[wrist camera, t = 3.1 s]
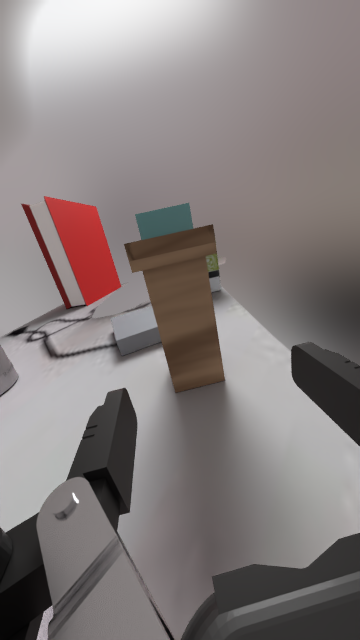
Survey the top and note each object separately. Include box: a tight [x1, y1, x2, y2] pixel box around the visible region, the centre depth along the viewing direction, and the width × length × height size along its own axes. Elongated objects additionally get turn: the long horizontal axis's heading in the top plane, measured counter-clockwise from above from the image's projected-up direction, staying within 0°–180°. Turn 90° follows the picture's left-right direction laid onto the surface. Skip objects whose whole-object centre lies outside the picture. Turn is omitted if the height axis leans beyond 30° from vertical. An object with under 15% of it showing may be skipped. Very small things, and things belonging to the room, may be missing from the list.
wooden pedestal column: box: [124, 225, 225, 393], centre depth 20 cm, size 6×6×14 cm
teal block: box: [135, 203, 193, 240], centre depth 17 cm, size 4×4×3 cm
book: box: [22, 196, 121, 309], centre depth 75 cm, size 27×8×32 cm, turn 170°
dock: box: [111, 306, 162, 356], centre depth 36 cm, size 14×12×2 cm
